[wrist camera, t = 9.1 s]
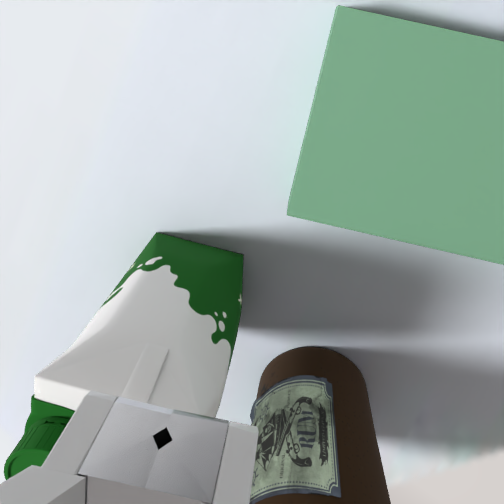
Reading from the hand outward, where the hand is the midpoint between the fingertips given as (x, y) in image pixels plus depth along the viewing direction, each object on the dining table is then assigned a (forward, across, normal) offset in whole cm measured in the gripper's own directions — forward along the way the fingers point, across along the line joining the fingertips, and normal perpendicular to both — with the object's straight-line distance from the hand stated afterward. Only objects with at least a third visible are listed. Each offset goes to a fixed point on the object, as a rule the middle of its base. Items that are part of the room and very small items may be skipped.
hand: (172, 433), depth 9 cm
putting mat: (+28, -13, -1) cm, 31 cm away
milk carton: (+28, +4, +14) cm, 31 cm away
